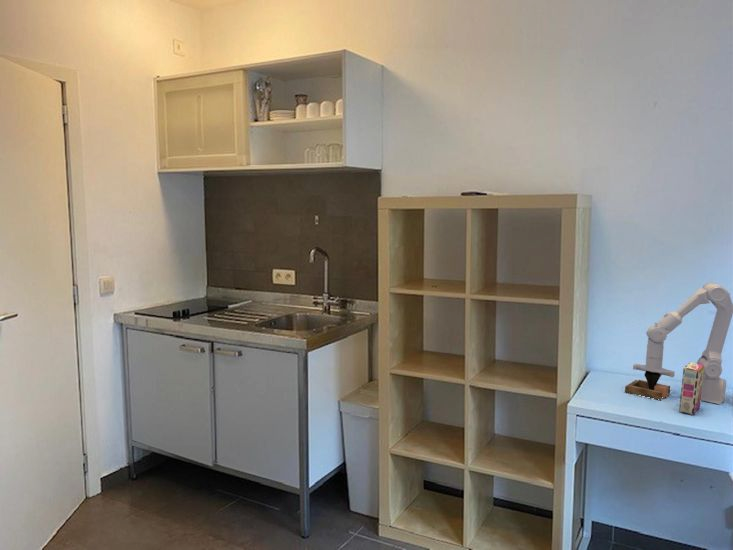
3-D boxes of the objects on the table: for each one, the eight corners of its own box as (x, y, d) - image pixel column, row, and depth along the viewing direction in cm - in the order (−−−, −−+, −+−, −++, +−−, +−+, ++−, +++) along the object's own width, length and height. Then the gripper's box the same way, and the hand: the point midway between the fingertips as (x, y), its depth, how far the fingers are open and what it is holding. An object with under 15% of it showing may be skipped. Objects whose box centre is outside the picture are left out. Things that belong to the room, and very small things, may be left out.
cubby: (669, 393, 231) (670, 386, 231) (660, 400, 223) (660, 392, 223) (635, 386, 240) (635, 378, 240) (624, 392, 232) (625, 385, 231)
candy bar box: (694, 416, 208) (698, 370, 206) (678, 412, 211) (682, 367, 209) (700, 407, 216) (704, 363, 214) (685, 404, 219) (689, 361, 217)
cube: (667, 396, 228) (668, 385, 228) (664, 398, 225) (665, 388, 225) (656, 393, 231) (657, 383, 231) (653, 396, 228) (654, 386, 228)
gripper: (678, 358, 227) (675, 392, 228) (638, 351, 236) (636, 384, 238) (672, 362, 221) (669, 397, 223) (632, 354, 231) (629, 388, 233)
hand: (651, 391), depth 230 cm, fingers closed
